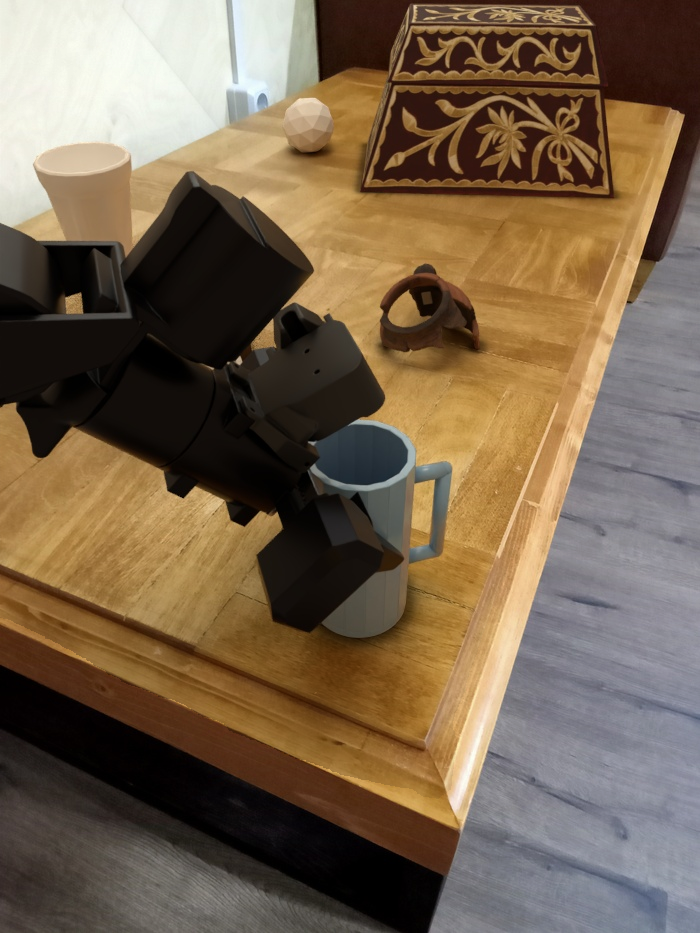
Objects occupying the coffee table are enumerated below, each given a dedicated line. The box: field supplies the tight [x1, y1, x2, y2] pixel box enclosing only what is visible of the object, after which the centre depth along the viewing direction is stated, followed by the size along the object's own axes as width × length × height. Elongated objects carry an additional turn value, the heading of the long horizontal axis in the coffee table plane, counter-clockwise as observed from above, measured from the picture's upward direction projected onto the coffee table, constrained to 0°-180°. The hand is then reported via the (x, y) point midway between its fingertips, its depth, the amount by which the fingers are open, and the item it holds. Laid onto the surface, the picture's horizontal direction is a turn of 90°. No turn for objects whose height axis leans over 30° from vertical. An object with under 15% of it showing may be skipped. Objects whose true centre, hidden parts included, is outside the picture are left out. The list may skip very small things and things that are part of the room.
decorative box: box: [359, 2, 615, 199], centre depth 108 cm, size 35×19×20 cm, turn 86°
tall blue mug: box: [308, 419, 453, 639], centre depth 49 cm, size 9×6×13 cm
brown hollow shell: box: [379, 263, 481, 353], centre depth 77 cm, size 12×10×8 cm
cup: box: [32, 141, 134, 257], centre depth 86 cm, size 10×10×13 cm
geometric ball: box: [282, 97, 335, 153], centre depth 119 cm, size 8×8×8 cm
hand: (380, 525), depth 49 cm, fingers closed on tall blue mug, 6 cm apart
